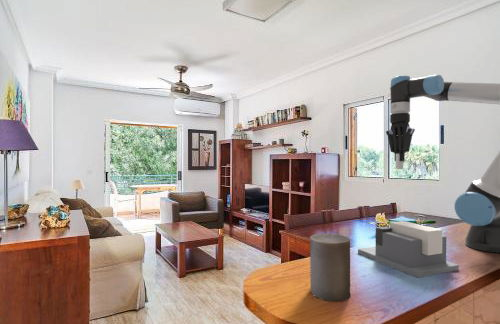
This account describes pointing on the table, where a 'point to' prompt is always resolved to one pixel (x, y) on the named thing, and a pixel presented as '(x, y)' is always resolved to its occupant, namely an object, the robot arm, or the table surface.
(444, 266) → the guide
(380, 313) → the table surface
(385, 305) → the table surface
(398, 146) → the robot arm
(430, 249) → the peg
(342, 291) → the pillar candle
